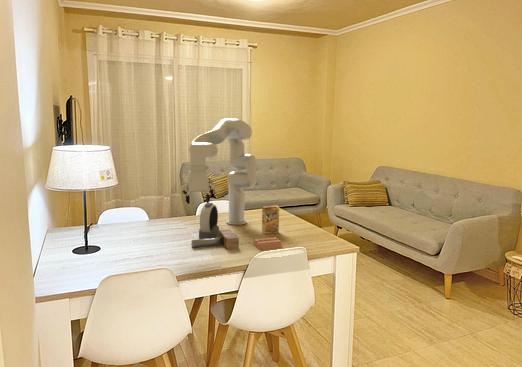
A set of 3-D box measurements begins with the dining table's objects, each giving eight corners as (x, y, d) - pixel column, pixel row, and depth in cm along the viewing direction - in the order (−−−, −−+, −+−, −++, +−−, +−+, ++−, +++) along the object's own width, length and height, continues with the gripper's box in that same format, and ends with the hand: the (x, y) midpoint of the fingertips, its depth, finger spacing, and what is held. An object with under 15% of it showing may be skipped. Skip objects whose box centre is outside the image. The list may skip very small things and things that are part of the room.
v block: (253, 244, 205) (253, 238, 205) (274, 242, 209) (275, 236, 209) (259, 250, 197) (259, 244, 196) (281, 247, 201) (281, 241, 200)
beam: (218, 239, 211) (218, 229, 210) (229, 238, 214) (229, 228, 213) (226, 249, 197) (226, 238, 196) (238, 248, 199) (238, 237, 198)
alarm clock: (213, 240, 210) (213, 207, 207) (195, 239, 212) (194, 205, 209) (222, 232, 226) (222, 200, 222) (205, 230, 227) (205, 199, 224)
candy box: (263, 234, 223) (264, 207, 220) (261, 232, 227) (262, 205, 224) (278, 233, 225) (279, 206, 223) (276, 231, 229) (277, 204, 226)
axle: (193, 248, 197) (192, 240, 197) (191, 247, 201) (191, 239, 201) (232, 244, 204) (231, 236, 204) (230, 243, 208) (229, 236, 207)
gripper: (213, 167, 203) (212, 200, 205) (178, 168, 196) (179, 202, 199) (217, 169, 196) (216, 203, 198) (181, 169, 190) (181, 205, 192)
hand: (197, 202), depth 199 cm, fingers open, 9 cm apart
